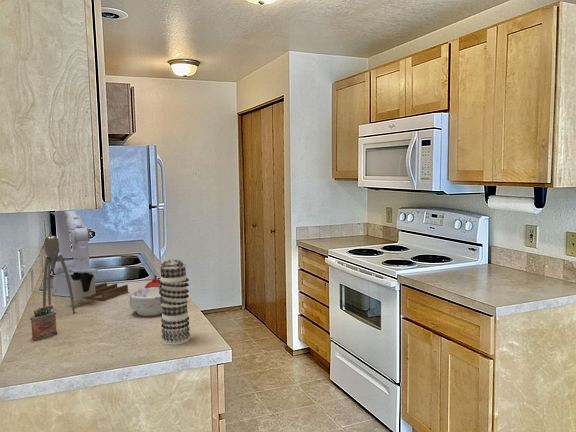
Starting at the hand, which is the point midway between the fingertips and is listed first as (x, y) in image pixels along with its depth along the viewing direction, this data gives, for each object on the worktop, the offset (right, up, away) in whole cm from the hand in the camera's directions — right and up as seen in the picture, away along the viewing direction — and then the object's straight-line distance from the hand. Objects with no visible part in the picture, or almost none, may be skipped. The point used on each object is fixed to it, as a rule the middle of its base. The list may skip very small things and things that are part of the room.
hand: (83, 291), depth 191 cm
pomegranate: (+26, -4, +11) cm, 29 cm away
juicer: (-6, -7, -12) cm, 15 cm away
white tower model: (+47, -9, -42) cm, 63 cm away
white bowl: (+31, -6, -12) cm, 34 cm away
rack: (+3, -4, +14) cm, 15 cm away
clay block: (0, -2, 0) cm, 2 cm away
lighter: (+3, -9, -37) cm, 38 cm away
